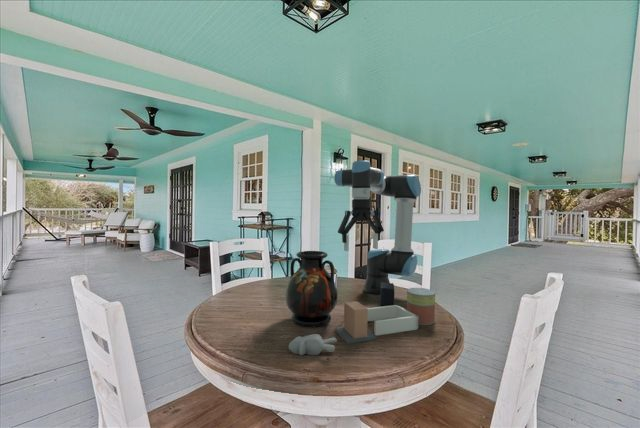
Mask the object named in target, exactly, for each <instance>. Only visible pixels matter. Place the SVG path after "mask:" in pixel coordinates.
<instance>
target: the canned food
mask: <svg viewBox="0 0 640 428" xmlns="http://www.w3.org/2000/svg"><path fill="white" fill-rule="evenodd" d="M406 291H407V293H406V295H407V296H406V310H407V311H409V312H411V313H413V314H415V315H417V316H418V325H420V326H431V325H433V324H435V323H436V322H435V319H436V318H435V316H436V313H435V312H436V291H434V290H432V289H429V288H425V287H410V288H407V289H406Z"/></svg>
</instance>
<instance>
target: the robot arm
mask: <svg viewBox="0 0 640 428" xmlns="http://www.w3.org/2000/svg"><path fill="white" fill-rule="evenodd" d="M333 180H334V183H335V185H336V186H338V187H351V198H352V200H351V208H352V210H345V211H344V217H343V219H342V221H341V222H340V226H339V228H338V230H337V233H338V234H341V240H342V241H341V242H342V243H343V245H344V246H343V250H344V251H345V252H349V251H350V250H349V249H350V246H349V244H350V243H349V241H350V240H349V239H350V237H349V234H348V233H349V232H350V231H351V230H352V228H353V226H355V224H356V223H358V222H366V223H367V224H368V225H369V226H370V228H371V229H372V231H373V234H372V248H373V249H370V250H369V251H368V252H367V257H366V259H367V263H366V264H367V268H366V269H367V272H366V273H367V274H366V275H367V276H366V279H365V283H364V284H363V291H364V292H367V293H369V294H374V295H380V294H381V282H383V283H391V282H390V279H389V275H393V276H394V275H395V276H400V277H411V276H413V275H414V273H415V272H416V269H417V266H418V256H417V255H415V254H414V253H415V251H414V250H413V248H412V233H413V231H412V230H413V219H414V218H413V216H414V213H413V212H414V203H415V202H417V197H420V196H421V194H422V193H421V192H422V186H421V181H420V178H419V177H418V176H417V175H415V174H400V175H385V174H384V172H383V170H382V169H380V168H378V167H372V166H371V162H370V160H354V161H353V162H352V165H351V169H340V170H337V171H336V172H335V173H334V179H333ZM371 192H372V193H373V194H375V195H376V194H377V195H380V196H385V197H389V198H390V197H391V198H392V197H393V200H394V201H395V202H396V212H395V227H394V228H395V230H394V246H393V248H391V251H390V249H388V248H379V241H380V234H381V233H383V232H384V231H385V230H384V227H383V225H382V223H381V220H380V218H379V216H378V210H376V209H372V210H371V199H370V198H371ZM351 216H352V217H351ZM370 216H372V218H371V217H370ZM350 217H351V219H350ZM349 219H350V221H349ZM372 219H373V220H372ZM378 248H379V249H378Z"/></svg>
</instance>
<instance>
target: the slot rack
mask: <svg viewBox="0 0 640 428" xmlns="http://www.w3.org/2000/svg"><path fill="white" fill-rule="evenodd" d="M366 308H367V309H368V315H367V322H373V321H374V322H373V325H374V326H373V335H375V336H376V337H377V336H382V335H389V334H396V333H402V332H409V331H416V330H419V324H418V316H417V315H415V314H413V313H411V312H409V311H407V308H404V307H402V306H400V305H398V304H394V305H392V306H383V307H380V306H376V307H366Z"/></svg>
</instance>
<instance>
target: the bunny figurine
mask: <svg viewBox="0 0 640 428" xmlns="http://www.w3.org/2000/svg"><path fill="white" fill-rule="evenodd" d="M337 342H338V340H337V338H336V337H331V338H326V339H323V337H322V336H321V335H320V334H317V333H312V334H310V335H304V336H303V337H302V336H301V335H300V336H299V335H298V336H297V337H294V339H293V340H290V343H289V344H288V351H291V352H292V353H293V354H297V355H298V354H299V355H300V356H303V355H305V354H307V355H309V356H318V355H319V354H321V352H322V351H326V352H331V353H332V352H334V351H336V350H335V345H334V344H335V343H337Z"/></svg>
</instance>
